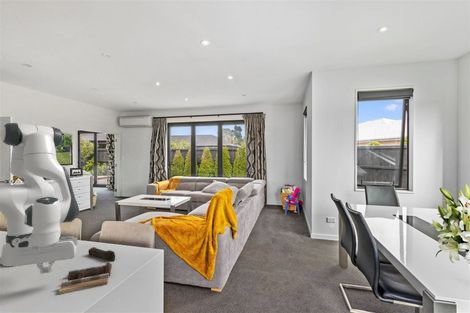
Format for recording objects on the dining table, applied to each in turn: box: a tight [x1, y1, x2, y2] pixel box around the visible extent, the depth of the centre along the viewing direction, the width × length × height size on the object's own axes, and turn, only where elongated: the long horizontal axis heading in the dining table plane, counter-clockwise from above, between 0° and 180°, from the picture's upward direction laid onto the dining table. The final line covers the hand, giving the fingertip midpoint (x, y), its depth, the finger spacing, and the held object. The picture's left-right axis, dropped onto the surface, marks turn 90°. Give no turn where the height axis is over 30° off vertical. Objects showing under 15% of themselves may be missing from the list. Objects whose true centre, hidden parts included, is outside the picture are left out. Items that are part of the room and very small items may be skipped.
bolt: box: [67, 262, 112, 281], centre depth 92 cm, size 6×5×15 cm
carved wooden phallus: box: [88, 246, 116, 262], centre depth 112 cm, size 19×4×5 cm, turn 62°
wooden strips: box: [58, 263, 113, 295], centre depth 92 cm, size 16×16×2 cm
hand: (45, 272), depth 87 cm, fingers closed
